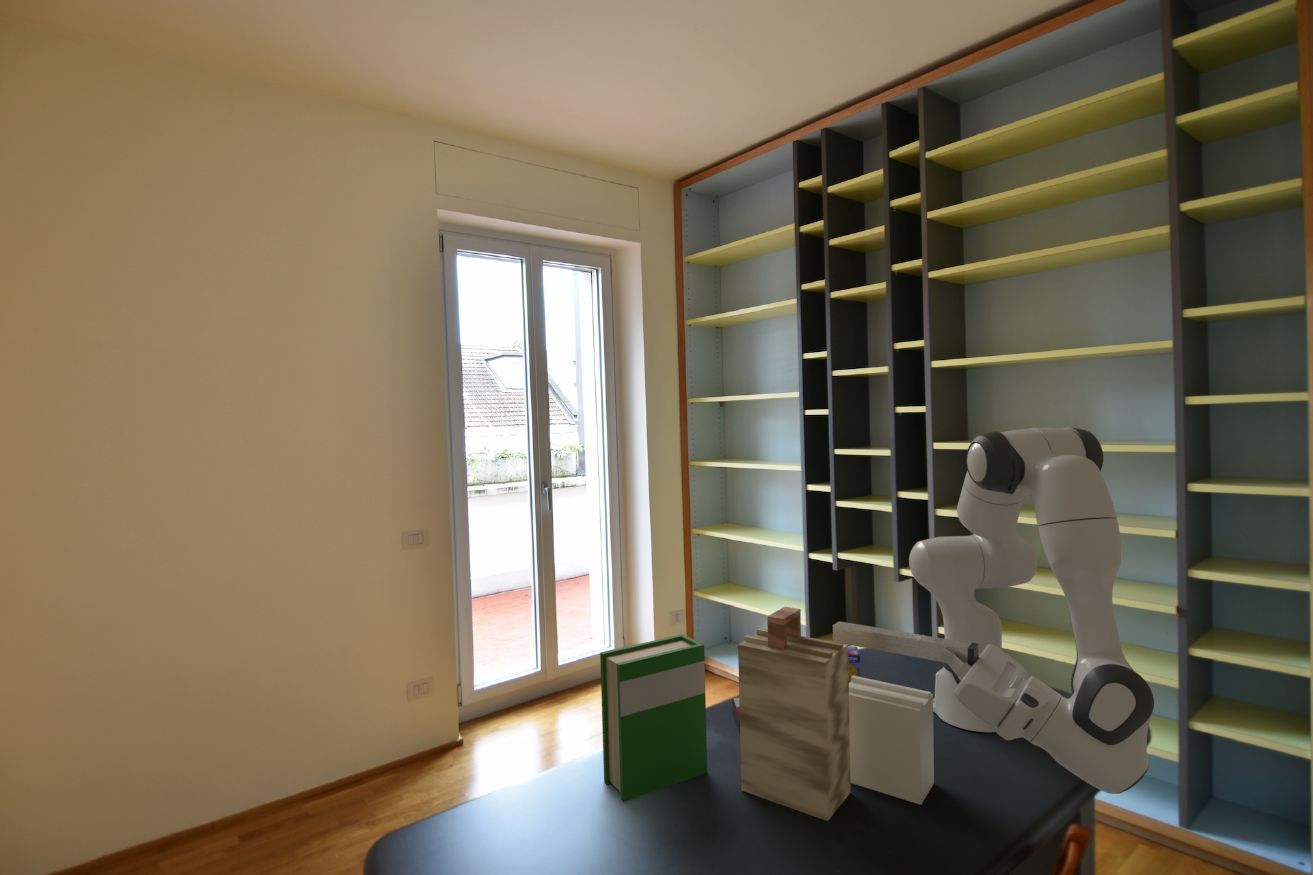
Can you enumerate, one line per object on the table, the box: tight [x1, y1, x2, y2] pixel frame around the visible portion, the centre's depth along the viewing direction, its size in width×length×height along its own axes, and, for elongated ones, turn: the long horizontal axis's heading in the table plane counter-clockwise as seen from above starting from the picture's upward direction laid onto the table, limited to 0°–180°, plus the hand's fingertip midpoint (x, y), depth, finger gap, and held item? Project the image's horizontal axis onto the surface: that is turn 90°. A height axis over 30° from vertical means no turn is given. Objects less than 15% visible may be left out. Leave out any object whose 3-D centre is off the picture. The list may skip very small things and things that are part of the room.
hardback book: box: [599, 633, 708, 803], centre depth 125 cm, size 18×7×24 cm, turn 121°
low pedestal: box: [849, 676, 935, 806], centre depth 121 cm, size 8×14×17 cm, turn 53°
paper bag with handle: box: [737, 606, 852, 822], centre depth 119 cm, size 10×16×31 cm, turn 53°
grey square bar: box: [832, 621, 979, 667], centre depth 119 cm, size 3×24×3 cm, turn 53°
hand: (945, 648), depth 114 cm, fingers closed on grey square bar, 3 cm apart
